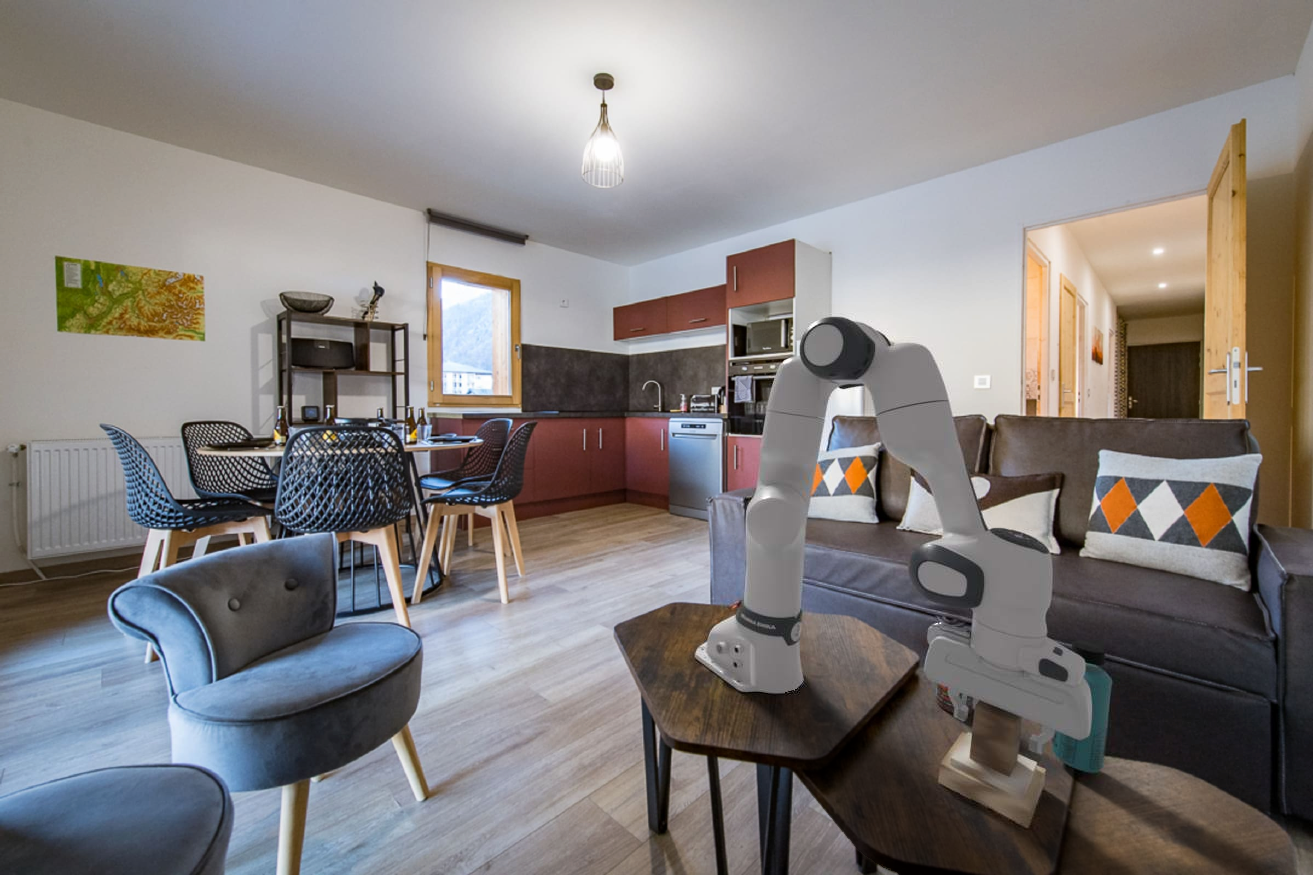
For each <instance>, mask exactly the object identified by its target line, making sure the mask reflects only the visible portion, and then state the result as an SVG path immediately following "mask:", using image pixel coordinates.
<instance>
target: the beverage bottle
mask: <svg viewBox="0 0 1313 875" xmlns="http://www.w3.org/2000/svg"><path fill="white" fill-rule="evenodd" d="M1070 650H1071V651H1072V652H1074V653H1076V654H1078V655H1079V656H1081V657H1082V658H1083V659H1084V660H1085V664H1086V669H1085V674H1084V677H1083V678H1084V679H1085V680H1086V682H1087V683H1088V685H1089V688H1090V691H1091V699H1092V723H1091V730H1090V734H1089V736H1088V737H1086V738H1084V739H1082V740H1078V739H1075V738H1072V737H1070V736H1068V735H1065V734H1063V733H1060V732H1058V731H1056V732H1055V734H1054V737H1053V738H1051V739H1050V740H1051V742H1050V746H1051V749H1052V752H1053V755H1054V756H1055V757H1056V758H1057V759H1058V760H1059V761H1061V762H1062V763H1064V764H1066V765H1068V766H1069V767H1072V768H1073V769H1076V770H1078V771H1081V772H1085V773H1093V774H1094V773H1098V772H1101V770H1102V769H1103V768H1104V766H1105V763H1104V761H1105V760H1106V758H1105V755H1106V751H1107V750H1106V746H1107V744H1108V743H1107V742H1108V739H1107V738H1108V731H1109V728H1108V727H1109V714H1110V713H1109V710H1110V701H1111V692H1112V685H1113V680H1112V678H1111V676H1110V675H1109V674H1108V673H1107V672H1106V671H1105V670H1104V669H1103V668H1101V667H1100V666H1104V665H1105V663H1106V651H1105V649H1104V648H1102V647H1100V646H1099V645H1097V644H1094V643H1091V642H1088V641H1084V640H1074V641H1072V644H1071V649H1070Z"/></svg>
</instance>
